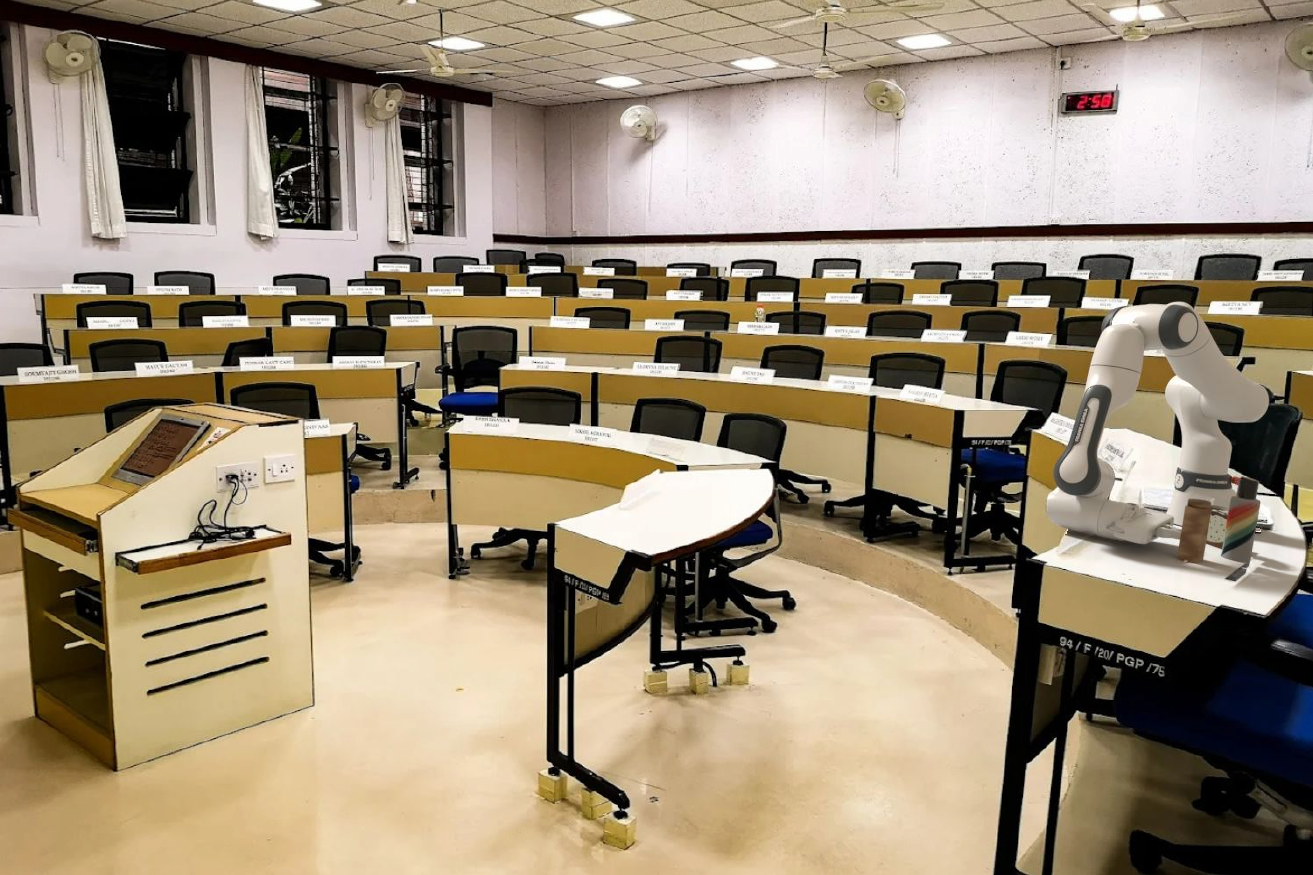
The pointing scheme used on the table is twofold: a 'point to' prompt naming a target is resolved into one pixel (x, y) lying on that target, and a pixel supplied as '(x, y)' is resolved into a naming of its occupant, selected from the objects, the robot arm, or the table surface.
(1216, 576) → the table surface
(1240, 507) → the lotion bottle
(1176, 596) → the table surface
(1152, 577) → the table surface
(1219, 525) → the food container
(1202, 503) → the brown post
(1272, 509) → the table surface
